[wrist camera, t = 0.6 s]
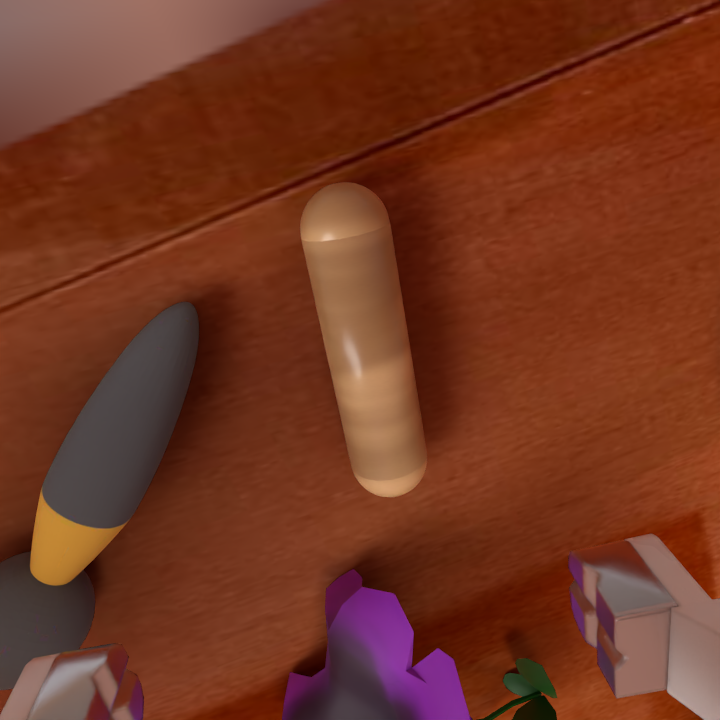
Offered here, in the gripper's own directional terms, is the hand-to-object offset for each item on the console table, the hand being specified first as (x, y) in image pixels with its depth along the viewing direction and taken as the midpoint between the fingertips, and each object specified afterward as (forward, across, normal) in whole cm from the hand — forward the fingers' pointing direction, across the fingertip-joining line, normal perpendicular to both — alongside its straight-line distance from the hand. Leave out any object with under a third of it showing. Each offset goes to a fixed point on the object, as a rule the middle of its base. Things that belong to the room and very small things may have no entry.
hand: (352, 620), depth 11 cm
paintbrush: (+15, +11, +4) cm, 19 cm away
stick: (+15, -2, 0) cm, 15 cm away
